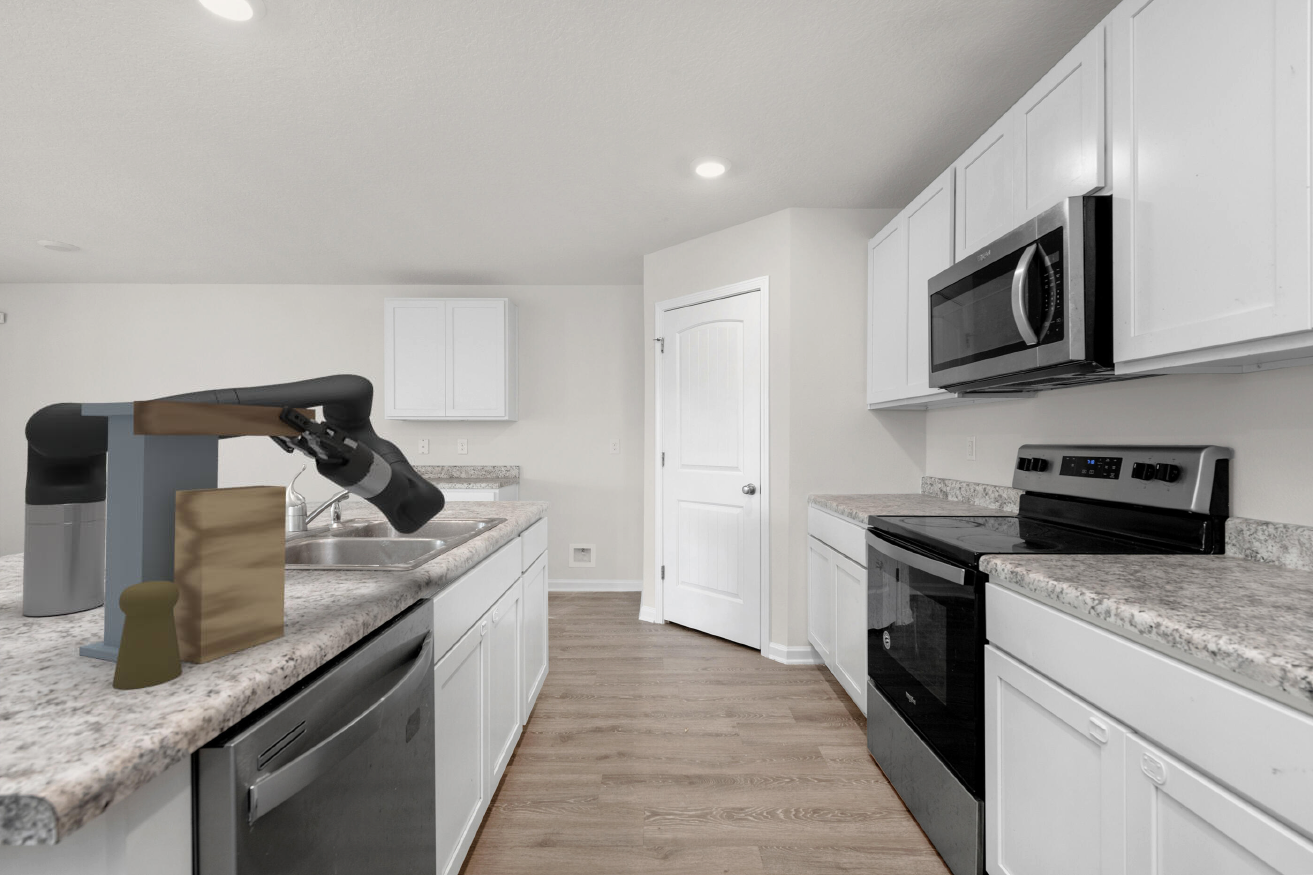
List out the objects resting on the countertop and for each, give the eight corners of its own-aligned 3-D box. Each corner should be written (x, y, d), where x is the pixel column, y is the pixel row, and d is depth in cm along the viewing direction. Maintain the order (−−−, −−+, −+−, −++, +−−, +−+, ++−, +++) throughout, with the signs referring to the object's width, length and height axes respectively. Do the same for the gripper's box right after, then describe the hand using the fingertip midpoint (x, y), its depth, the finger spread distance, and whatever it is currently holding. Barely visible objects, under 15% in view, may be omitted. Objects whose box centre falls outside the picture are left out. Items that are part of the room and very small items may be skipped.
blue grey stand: (76, 654, 74) (81, 403, 74) (179, 626, 85) (183, 409, 86) (139, 666, 70) (144, 402, 70) (238, 635, 81) (242, 408, 82)
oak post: (172, 658, 73) (175, 491, 73) (257, 632, 83) (260, 485, 83) (200, 663, 71) (203, 492, 71) (283, 635, 81) (286, 486, 82)
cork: (141, 691, 63) (143, 590, 63) (97, 686, 64) (99, 587, 64) (195, 670, 69) (197, 577, 69) (154, 666, 70) (156, 575, 70)
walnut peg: (133, 435, 68) (133, 401, 68) (295, 436, 88) (295, 409, 88) (156, 434, 67) (156, 400, 67) (315, 436, 87) (315, 409, 87)
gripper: (331, 447, 100) (247, 391, 86) (398, 448, 96) (321, 388, 82) (312, 486, 97) (221, 434, 83) (381, 489, 92) (297, 434, 78)
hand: (271, 412), depth 82 cm, fingers closed on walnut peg, 4 cm apart
